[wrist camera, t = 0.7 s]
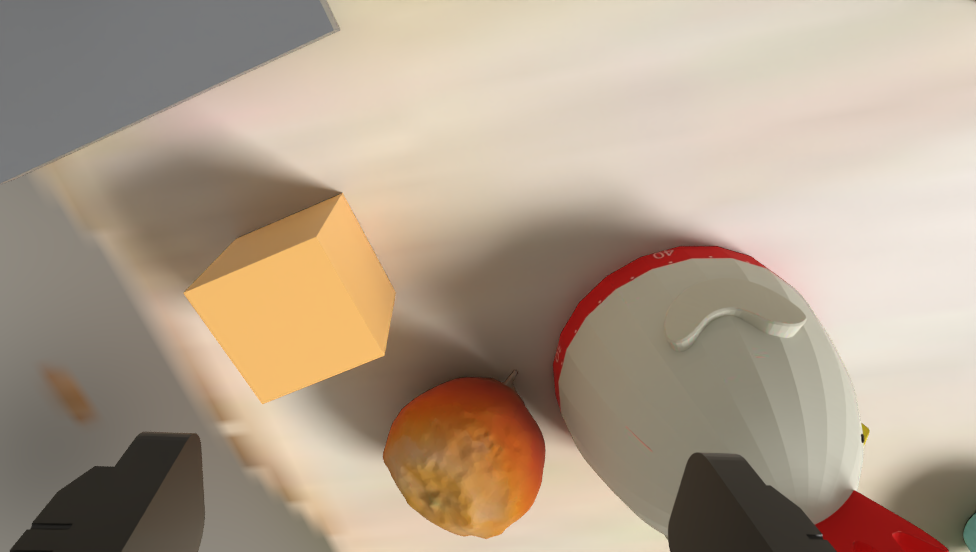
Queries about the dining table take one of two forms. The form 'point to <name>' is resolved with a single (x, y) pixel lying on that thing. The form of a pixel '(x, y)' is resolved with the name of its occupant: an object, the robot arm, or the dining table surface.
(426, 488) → the fruit
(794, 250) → the dining table surface
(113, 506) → the robot arm
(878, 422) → the dining table surface
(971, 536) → the cupcake
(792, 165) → the dining table surface
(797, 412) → the kitchen timer
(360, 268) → the peach colored cube
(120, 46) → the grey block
